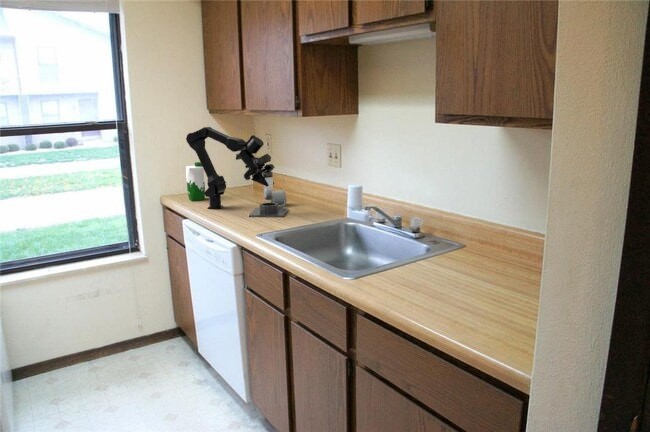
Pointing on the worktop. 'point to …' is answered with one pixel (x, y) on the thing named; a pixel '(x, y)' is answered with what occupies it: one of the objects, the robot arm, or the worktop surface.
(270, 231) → the worktop surface
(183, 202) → the worktop surface
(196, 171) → the milk carton
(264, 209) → the firebox collar
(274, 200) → the ceramic mug
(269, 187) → the black capped shaker
